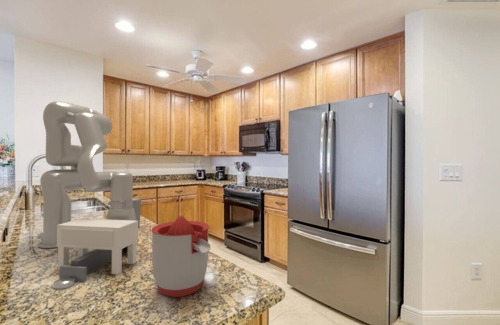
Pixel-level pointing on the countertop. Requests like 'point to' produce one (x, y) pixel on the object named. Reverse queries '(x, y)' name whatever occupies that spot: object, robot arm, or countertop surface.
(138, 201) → the skincare box
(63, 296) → the countertop surface
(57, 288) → the disc
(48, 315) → the countertop surface
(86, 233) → the white footstool
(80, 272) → the dark grey bar
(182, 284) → the citrus juicer
